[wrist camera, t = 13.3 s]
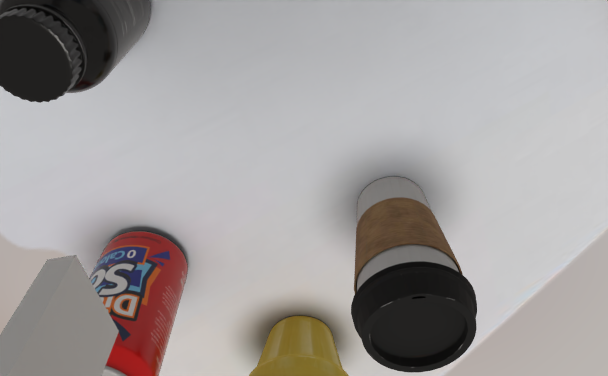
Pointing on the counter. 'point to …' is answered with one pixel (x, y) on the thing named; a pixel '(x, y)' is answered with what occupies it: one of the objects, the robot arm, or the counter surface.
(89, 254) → the counter surface
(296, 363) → the plant pot
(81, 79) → the supplement bottle
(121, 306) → the soda can
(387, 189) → the coffee cup
